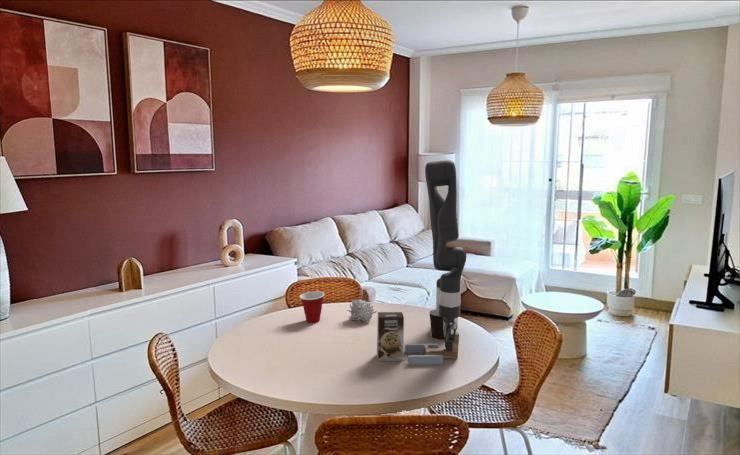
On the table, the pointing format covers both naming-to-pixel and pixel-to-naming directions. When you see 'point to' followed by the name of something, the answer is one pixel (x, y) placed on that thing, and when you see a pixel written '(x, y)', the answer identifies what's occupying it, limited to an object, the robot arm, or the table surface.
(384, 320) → the coffee box
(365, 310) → the sea urchin
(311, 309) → the plastic cup
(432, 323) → the coffee mug
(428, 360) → the acrylic channel
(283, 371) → the table surface
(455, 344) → the wooden t-shaped piece
